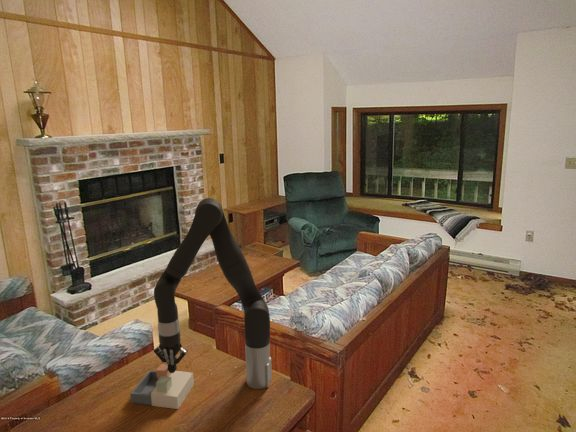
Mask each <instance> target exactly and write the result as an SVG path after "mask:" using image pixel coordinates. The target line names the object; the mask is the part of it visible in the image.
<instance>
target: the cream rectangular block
mask: <svg viewBox="0 0 576 432" xmlns="http://www.w3.org/2000/svg"><path fill="white" fill-rule="evenodd" d="M169 377H171V378H172V387H171V388H170V389H169V391H168V392H167V393H166V392H158V391H157V389H156V387H155V389H154V390H153V391H152V393H151V401H152V406H153V407H159V408H166V409H174V410H179V408H181V405H182V404H183V402H184V401H185V399H186V397H187V396H188V395H189V393H190V391H191V389H192V388H193V387H194V384H195V381H194V379H195V378H194V372H189V371H180V370H176V371H175V372H174V373H171V375H170V376H169Z"/></svg>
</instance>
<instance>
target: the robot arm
mask: <svg viewBox="0 0 576 432" xmlns="http://www.w3.org/2000/svg"><path fill="white" fill-rule="evenodd" d="M209 236H210V239H211V241H212V246H213V249H214V253H215V256H216V259H217V262H218V265H219V267H220V270H221V271H222V274H223V276H224V277H225V279H226V281H227V282H228V283H229V285H231V286H232V288H233V289H234V290H235V292H236V293H237V295H238V297H239V299H240V303H241V305H242V308H243V313H244V314H243V315H244V318H243V319H244V320H243V321H244V344H245V346H244V350H245V372H246V373H245V374H246V377H245V379H246V384H247V386H248V387H249V388H250V389H254V390H261V389H265V388H269V387H270V384H271V382H272V375H273V374H272V371H273V370H272V357H271V351H270V344H271V343H270V338H271V317H270V311H269V306H268V304H267V302H266V301H265V299H264V298H263V296H262V294H261V292H260V291H259V289H258V287H257V286H256V284H255V281H254V277H253V274H252V271H251V269H250V267H249V264H248V262H247V260H246V257H245V255H244V253H243V251H242V250H241V248H240V245H239V244H238V241H237V240H236V237H234V235H233V233H232V231H231V229H230V227H229V224H228V221H227V218H226V215H225V213H224V209H223V206H222V205H221V203H220V202H219V201H218V200H216V199H215V198H210V197H207V198H206V197H205V198H204V199H201V201H199V202H198V204H197V206H196V208H195V210H194V217H193V220H192V222H191V225H190V227H189V230H188V232H187V234H186V235H185V237H184V239H183V240H182V241H181V243H180V244H179V246H178V247H177V249H176V250H175V251H174V253H173V255H172V257H171V258H170V260H169V262H168V264H167V266H166V268H165V270H164V271H163V272H162V274H161V275H160V277H159V279H157V283H156V285H155V286H154V290H153V297H154V298H153V299H154V302H155V306H156V310H157V331H158V342H159V344H158V346H156V347H155V348H154V350H153V353H154V354H155V355H156V356H157V357H158V358H159V360H160V361H161V362H162V364H165V363H166V364H168V371H169V373H174V372H175V371H177V369H178V368H177V365H178V364H179V363H180V362H181V361H182V360H183V358H184V357H185V356H186V354H187V353H188V352H189V350H188V349H187V348H186V349H184V348H183V345H182V343H181V328H180V326H181V325H180V321H179V320H180V319H179V312H178V310H179V309H178V305H177V304H176V300H175V299H176V298H175V295H176V294H175V293H176V290H177V289H178V287H179V284H180V282H181V281H182V279H183V278H184V276H185V275H186V274H187V273H188V271H189V269H190V268H191V266H192V264H193V262H194V261H195V259H196V257H197V255H198V253H199V250H200V249H201V248H202V245H203V244H204V243H205V241H206V240H207V239H208V237H209ZM178 353H179V356H178ZM177 357H178V358H177Z"/></svg>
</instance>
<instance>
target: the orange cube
mask: <svg viewBox="0 0 576 432" xmlns="http://www.w3.org/2000/svg"><path fill="white" fill-rule="evenodd" d="M155 371H156V374H157V379H159V378H160V377H161V376H166V377H169V376H170V375H171V373H169V371H168V364H167V363H166V364H165V363H161V364H160V365H159V366H158V367H157V368H156V369H155Z"/></svg>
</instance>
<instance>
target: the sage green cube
mask: <svg viewBox="0 0 576 432" xmlns="http://www.w3.org/2000/svg"><path fill="white" fill-rule="evenodd" d="M171 387H172V378H171V377H166V376H161V377H160V378H159V379H158V381H157V382H156V389H157V391H158V392H166V393H167V392H168V391H169V389H170V388H171Z"/></svg>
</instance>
